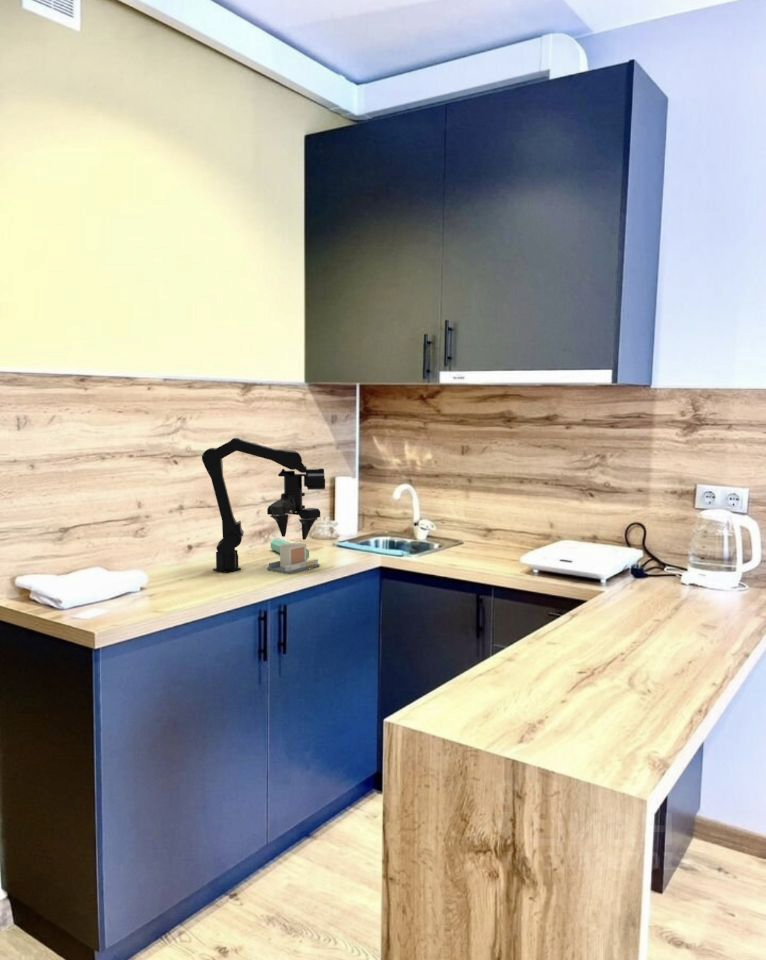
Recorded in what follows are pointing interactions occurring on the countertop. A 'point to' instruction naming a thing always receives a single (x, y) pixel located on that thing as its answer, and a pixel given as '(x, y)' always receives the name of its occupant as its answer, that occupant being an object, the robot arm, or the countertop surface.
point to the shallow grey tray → (293, 566)
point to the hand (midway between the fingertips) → (293, 538)
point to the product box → (292, 553)
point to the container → (278, 542)
